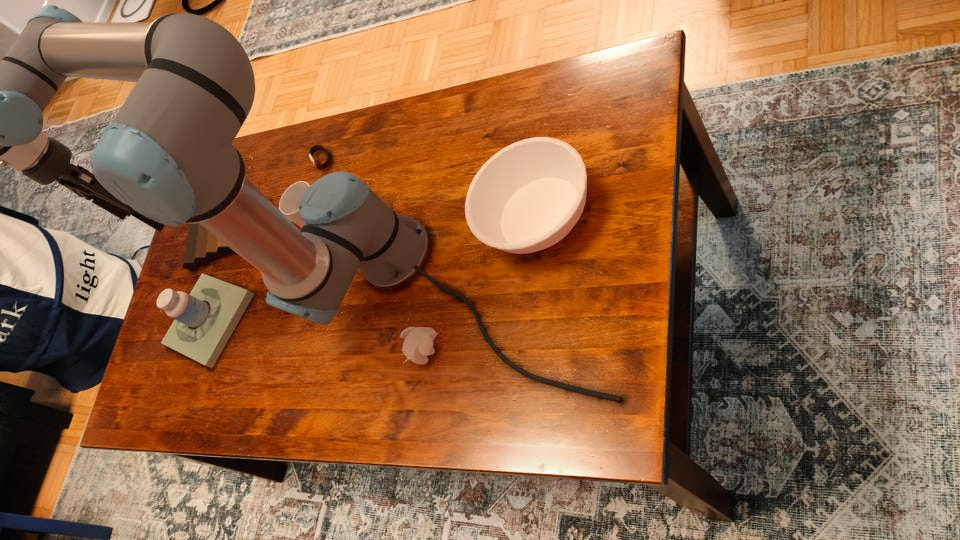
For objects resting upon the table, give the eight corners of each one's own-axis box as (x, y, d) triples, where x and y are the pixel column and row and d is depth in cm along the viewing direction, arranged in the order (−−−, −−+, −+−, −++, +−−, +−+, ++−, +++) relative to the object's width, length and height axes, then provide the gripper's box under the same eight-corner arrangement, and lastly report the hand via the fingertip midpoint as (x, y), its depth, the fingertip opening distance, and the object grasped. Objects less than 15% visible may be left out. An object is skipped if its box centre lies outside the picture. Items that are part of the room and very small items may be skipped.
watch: (311, 157, 157) (301, 148, 154) (326, 145, 157) (317, 136, 154) (320, 176, 153) (310, 167, 150) (335, 163, 152) (326, 154, 149)
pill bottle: (219, 311, 147) (179, 290, 138) (204, 334, 146) (162, 315, 137) (206, 302, 151) (166, 281, 142) (190, 325, 149) (149, 305, 141)
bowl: (512, 158, 128) (494, 131, 121) (619, 169, 115) (605, 141, 108) (466, 259, 122) (444, 237, 115) (574, 283, 109) (556, 260, 102)
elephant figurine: (453, 342, 115) (436, 329, 110) (426, 379, 114) (408, 368, 109) (429, 324, 119) (411, 311, 114) (402, 361, 118) (384, 349, 113)
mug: (299, 245, 145) (261, 218, 135) (310, 212, 148) (274, 183, 139) (341, 242, 139) (303, 214, 130) (351, 208, 142) (316, 177, 133)
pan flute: (199, 192, 173) (189, 271, 159) (189, 185, 170) (178, 265, 156) (274, 154, 165) (270, 233, 151) (264, 146, 162) (260, 226, 149)
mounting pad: (254, 293, 144) (248, 290, 143) (212, 368, 140) (205, 365, 138) (208, 276, 155) (201, 273, 153) (167, 346, 150) (160, 343, 148)
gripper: (-8, 164, 113) (102, 225, 130) (54, 182, 99) (169, 248, 115) (17, 129, 115) (123, 193, 132) (82, 141, 101) (191, 212, 117)
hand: (144, 219), depth 124 cm, fingers open, 13 cm apart
